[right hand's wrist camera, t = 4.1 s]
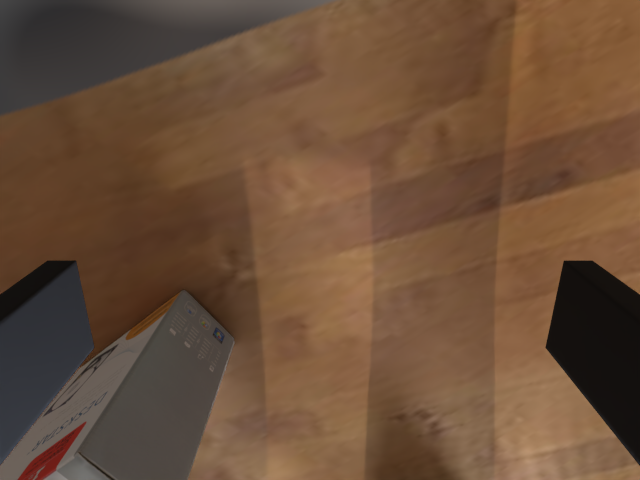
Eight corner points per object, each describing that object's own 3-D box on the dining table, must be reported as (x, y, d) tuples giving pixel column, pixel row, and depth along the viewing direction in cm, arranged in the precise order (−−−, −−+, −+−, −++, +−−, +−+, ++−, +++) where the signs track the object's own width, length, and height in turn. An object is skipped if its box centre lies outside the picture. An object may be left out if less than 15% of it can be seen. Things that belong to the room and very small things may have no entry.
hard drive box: (184, 284, 43) (81, 450, 25) (237, 338, 45) (181, 529, 27) (75, 368, 47) (-87, 570, 28) (130, 415, 49) (13, 630, 30)
